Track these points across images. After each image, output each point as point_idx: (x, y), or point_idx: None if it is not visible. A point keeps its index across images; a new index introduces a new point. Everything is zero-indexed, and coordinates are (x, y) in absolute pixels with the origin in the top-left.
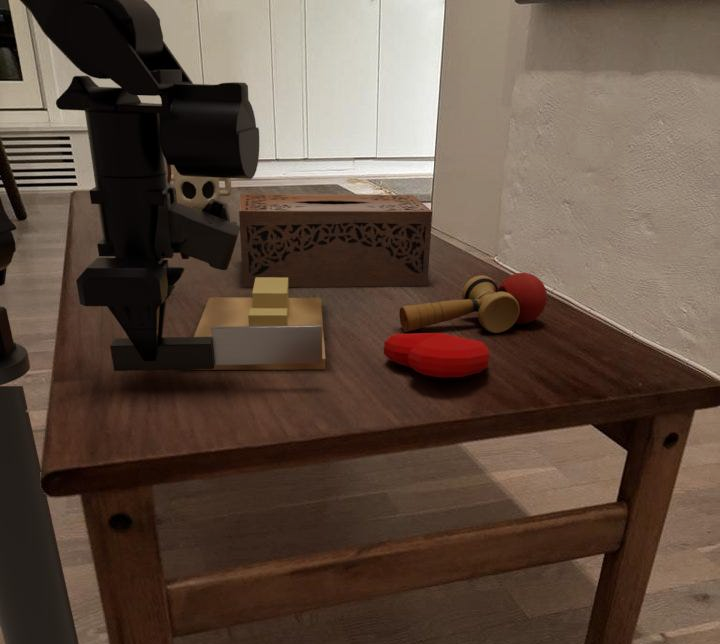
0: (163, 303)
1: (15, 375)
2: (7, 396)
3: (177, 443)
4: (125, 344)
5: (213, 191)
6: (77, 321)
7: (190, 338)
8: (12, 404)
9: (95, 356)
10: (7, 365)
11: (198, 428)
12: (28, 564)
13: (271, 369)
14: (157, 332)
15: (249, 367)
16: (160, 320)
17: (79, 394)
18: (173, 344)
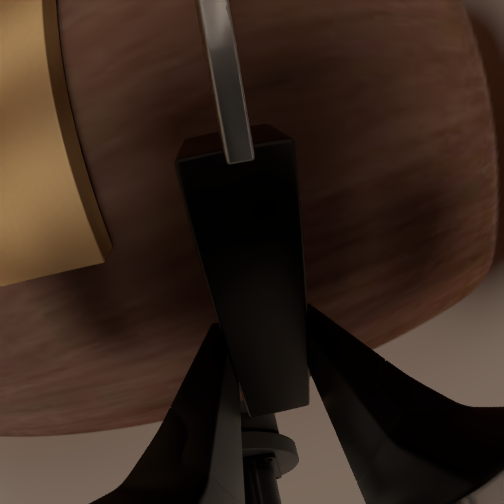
0: (213, 449)
1: (252, 435)
2: (250, 418)
3: (473, 151)
4: (298, 390)
5: None
6: (37, 429)
7: (222, 254)
8: (244, 408)
9: (122, 399)
10: (259, 450)
11: (433, 123)
12: None
13: (58, 32)
14: (348, 355)
15: (64, 86)
16: (224, 395)
17: None
18: (303, 288)
